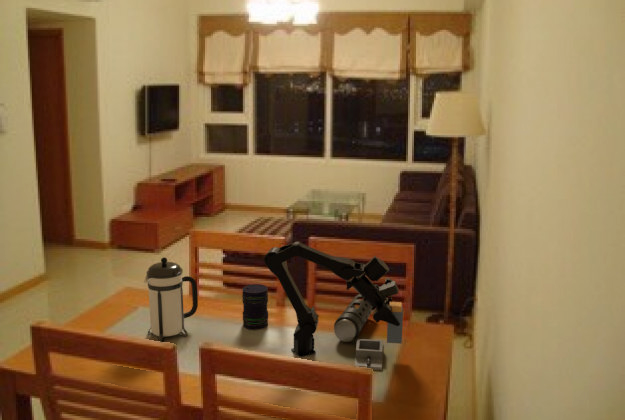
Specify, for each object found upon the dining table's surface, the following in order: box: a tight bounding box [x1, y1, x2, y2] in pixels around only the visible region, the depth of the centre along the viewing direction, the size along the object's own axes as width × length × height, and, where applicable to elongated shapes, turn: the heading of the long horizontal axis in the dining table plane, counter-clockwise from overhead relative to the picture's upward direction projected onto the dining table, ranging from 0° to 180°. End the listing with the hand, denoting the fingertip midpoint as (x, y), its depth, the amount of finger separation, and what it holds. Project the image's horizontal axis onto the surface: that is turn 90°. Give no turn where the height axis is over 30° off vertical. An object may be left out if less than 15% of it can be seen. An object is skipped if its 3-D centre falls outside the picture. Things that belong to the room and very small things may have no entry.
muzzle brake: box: [333, 293, 374, 343], centre depth 227 cm, size 10×28×10 cm, turn 162°
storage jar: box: [241, 283, 269, 331], centre depth 232 cm, size 10×10×15 cm
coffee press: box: [144, 257, 199, 342], centre depth 222 cm, size 17×16×30 cm
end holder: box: [354, 338, 384, 371], centre depth 207 cm, size 9×20×4 cm, turn 173°
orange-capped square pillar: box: [386, 301, 404, 344], centre depth 204 cm, size 5×5×13 cm
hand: (399, 322), depth 203 cm, fingers closed on orange-capped square pillar, 5 cm apart
